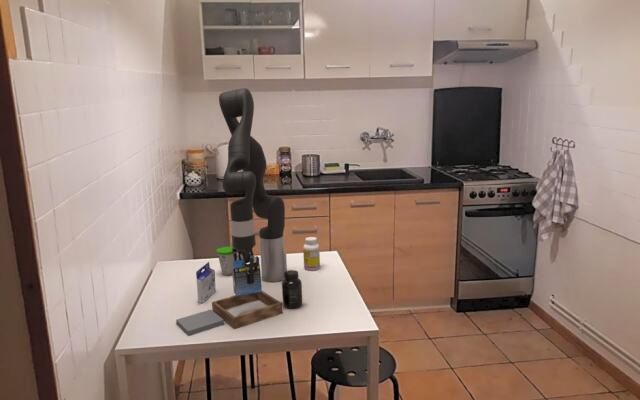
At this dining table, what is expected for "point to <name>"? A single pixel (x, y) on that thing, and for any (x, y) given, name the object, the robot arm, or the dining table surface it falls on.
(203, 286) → the ink box
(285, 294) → the supplement bottle
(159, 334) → the dining table surface
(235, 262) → the blue product box
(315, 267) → the supplement bottle
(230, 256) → the cup
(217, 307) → the bin
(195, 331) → the grey rectangular slab
